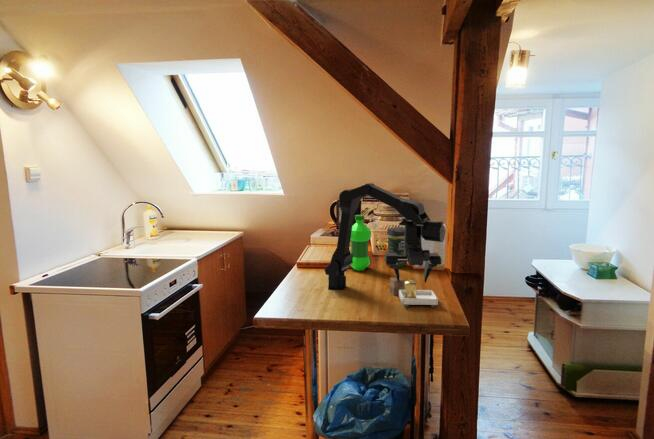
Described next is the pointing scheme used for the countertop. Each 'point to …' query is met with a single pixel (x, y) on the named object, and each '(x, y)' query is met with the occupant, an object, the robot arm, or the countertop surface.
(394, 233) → the coffee jar
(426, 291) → the white shallow tray
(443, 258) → the cracker box
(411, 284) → the small wooden cylinder
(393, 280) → the walnut block
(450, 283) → the countertop surface
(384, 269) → the countertop surface
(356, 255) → the plastic bottle
